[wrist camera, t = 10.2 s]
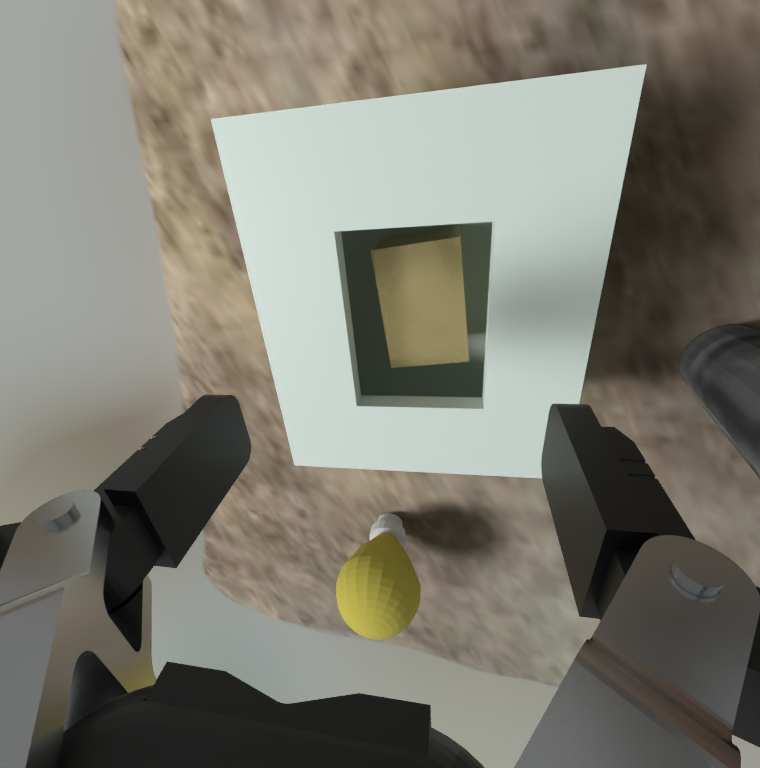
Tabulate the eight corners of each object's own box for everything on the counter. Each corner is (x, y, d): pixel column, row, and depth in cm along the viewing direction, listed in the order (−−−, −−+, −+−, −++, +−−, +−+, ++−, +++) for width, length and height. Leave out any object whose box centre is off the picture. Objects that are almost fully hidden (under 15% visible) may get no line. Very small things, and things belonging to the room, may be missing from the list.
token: (382, 237, 21) (370, 250, 18) (459, 225, 20) (460, 236, 17) (399, 341, 23) (391, 368, 20) (467, 335, 22) (469, 361, 19)
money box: (301, 135, 22) (210, 119, 14) (565, 105, 19) (646, 63, 11) (338, 382, 30) (294, 465, 22) (531, 384, 27) (564, 479, 19)
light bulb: (437, 538, 36) (433, 653, 28) (376, 551, 39) (354, 661, 30) (406, 488, 34) (389, 598, 25) (342, 505, 36) (308, 611, 28)
